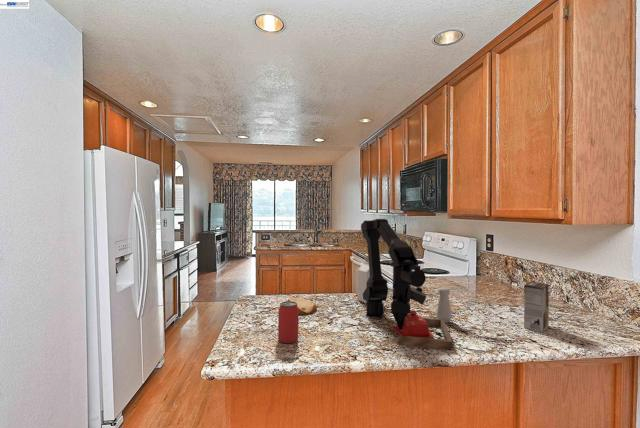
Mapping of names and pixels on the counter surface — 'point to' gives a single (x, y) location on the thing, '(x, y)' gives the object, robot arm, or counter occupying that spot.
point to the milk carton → (363, 280)
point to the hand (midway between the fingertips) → (400, 324)
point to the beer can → (288, 322)
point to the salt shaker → (444, 305)
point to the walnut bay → (429, 342)
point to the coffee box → (536, 306)
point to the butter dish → (414, 326)
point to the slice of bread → (304, 306)
